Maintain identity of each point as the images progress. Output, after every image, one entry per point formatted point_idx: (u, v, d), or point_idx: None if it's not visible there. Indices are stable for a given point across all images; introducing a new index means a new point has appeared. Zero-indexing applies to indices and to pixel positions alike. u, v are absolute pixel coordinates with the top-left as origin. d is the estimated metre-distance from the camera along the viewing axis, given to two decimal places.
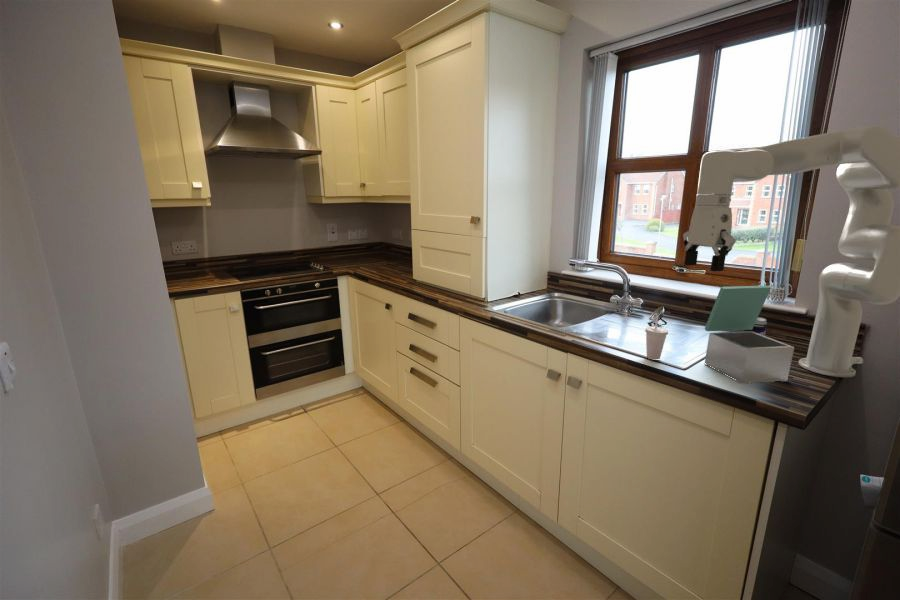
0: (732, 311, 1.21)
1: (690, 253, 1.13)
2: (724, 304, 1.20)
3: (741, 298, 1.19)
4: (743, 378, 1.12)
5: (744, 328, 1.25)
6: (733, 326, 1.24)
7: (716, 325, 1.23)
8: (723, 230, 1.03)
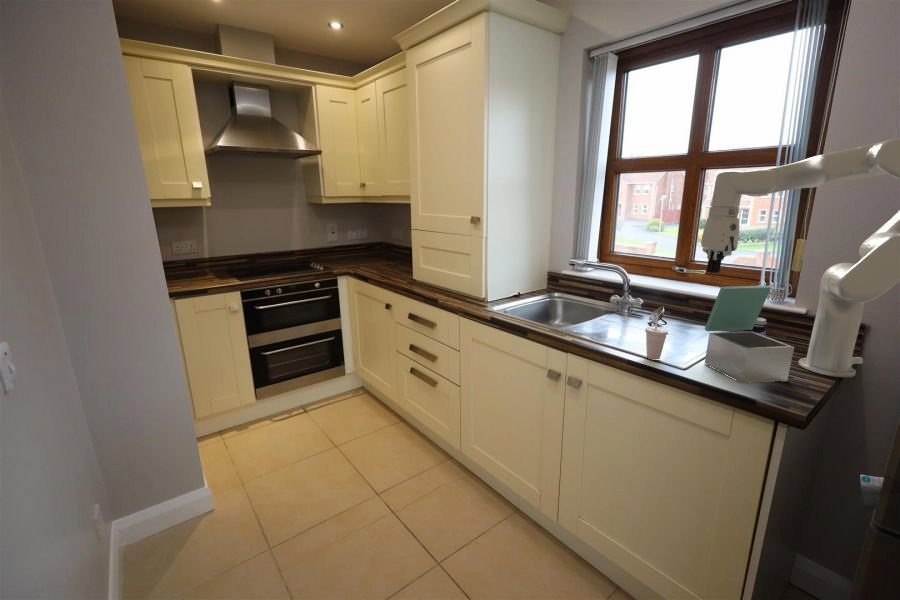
0: (732, 311, 1.21)
1: None
2: (724, 304, 1.20)
3: (741, 298, 1.19)
4: (743, 378, 1.12)
5: (744, 328, 1.25)
6: (733, 326, 1.24)
7: (716, 325, 1.23)
8: (729, 240, 1.24)
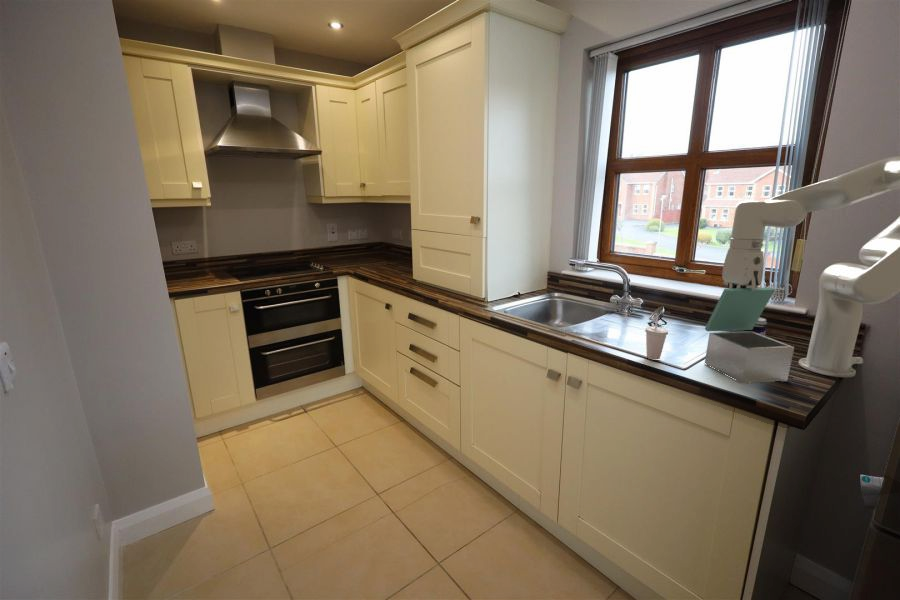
0: (734, 312, 1.21)
1: None
2: (726, 305, 1.19)
3: (744, 300, 1.19)
4: (743, 378, 1.12)
5: (744, 328, 1.25)
6: (733, 326, 1.24)
7: (716, 325, 1.23)
8: (753, 274, 1.16)
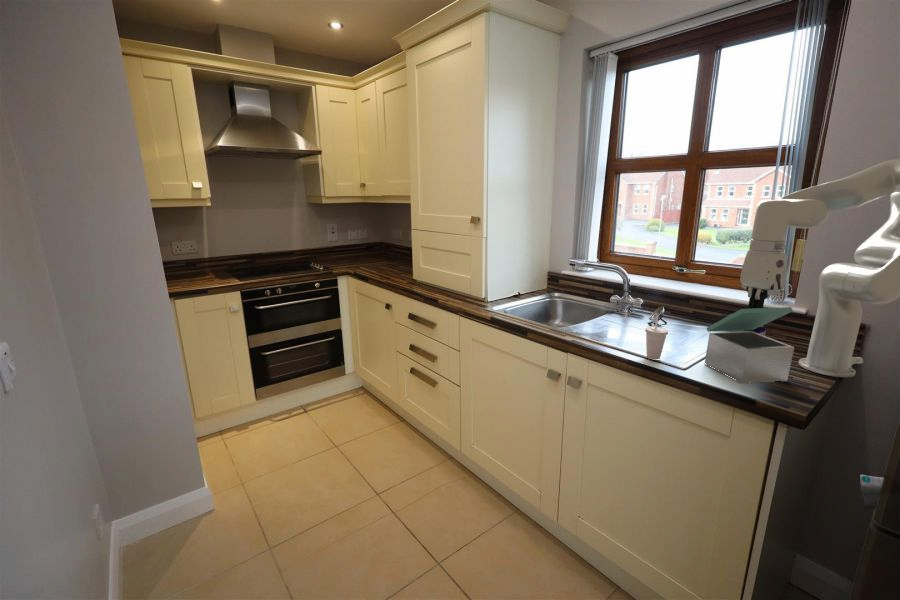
0: (741, 322, 1.18)
1: None
2: (736, 319, 1.16)
3: (756, 316, 1.15)
4: (743, 378, 1.12)
5: (745, 329, 1.25)
6: (735, 329, 1.23)
7: (719, 329, 1.22)
8: (775, 278, 1.09)
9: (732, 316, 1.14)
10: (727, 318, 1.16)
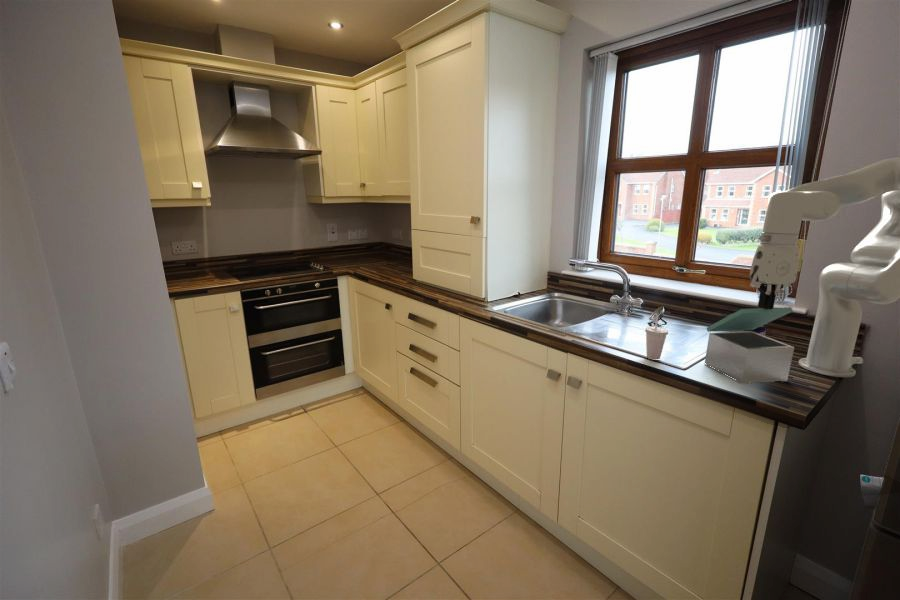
0: (741, 322, 1.18)
1: None
2: (736, 319, 1.16)
3: (756, 316, 1.15)
4: (743, 378, 1.12)
5: (745, 329, 1.25)
6: (735, 329, 1.23)
7: (719, 329, 1.22)
8: (758, 270, 1.09)
9: (732, 316, 1.14)
10: (727, 318, 1.16)
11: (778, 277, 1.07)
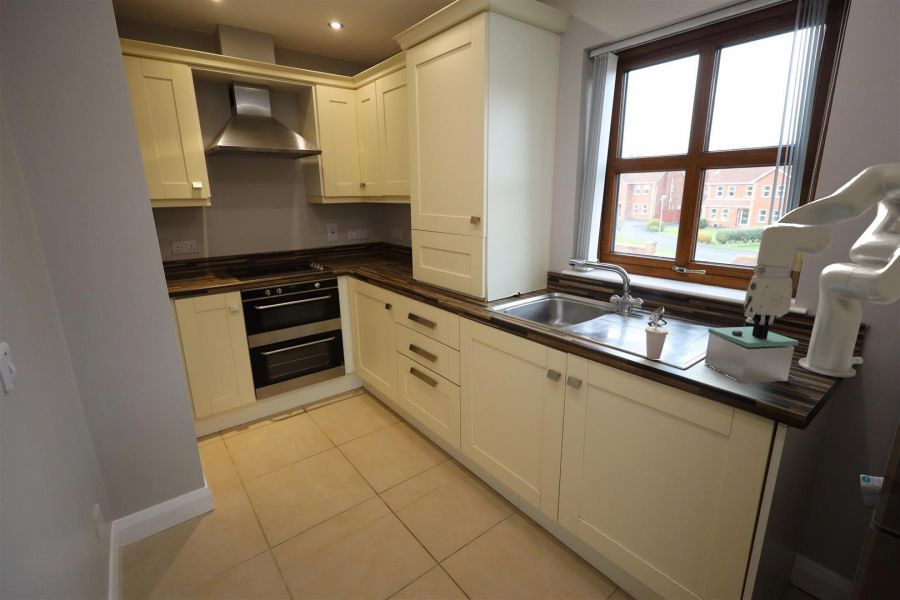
0: None
1: None
2: None
3: None
4: (743, 378, 1.12)
5: None
6: None
7: None
8: (752, 301, 1.11)
9: (736, 341, 1.13)
10: (731, 338, 1.15)
11: (772, 308, 1.09)
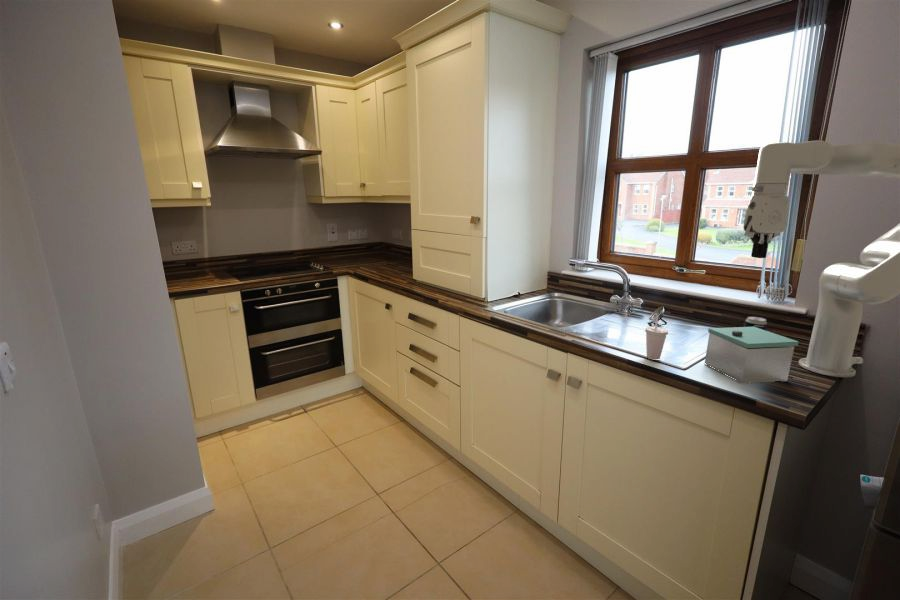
0: None
1: None
2: None
3: None
4: (743, 378, 1.12)
5: None
6: None
7: None
8: (751, 220, 1.14)
9: (736, 341, 1.13)
10: (731, 339, 1.15)
11: (770, 226, 1.13)
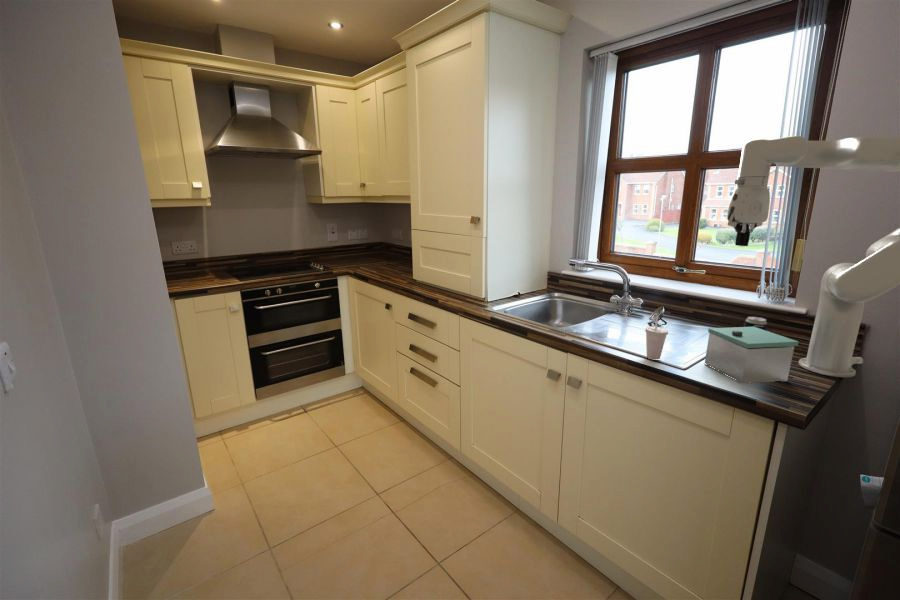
0: None
1: None
2: None
3: None
4: (743, 378, 1.12)
5: None
6: None
7: None
8: None
9: (736, 341, 1.13)
10: (731, 339, 1.15)
11: (751, 216, 1.22)
